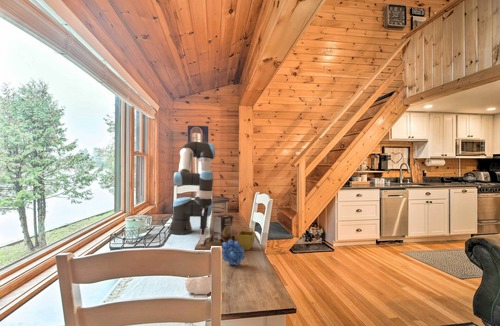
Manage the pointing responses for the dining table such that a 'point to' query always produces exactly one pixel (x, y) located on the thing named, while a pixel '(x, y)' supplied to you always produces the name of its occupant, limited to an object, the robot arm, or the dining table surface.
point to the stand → (211, 243)
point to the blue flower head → (232, 252)
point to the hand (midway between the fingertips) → (202, 239)
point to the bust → (198, 285)
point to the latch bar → (202, 241)
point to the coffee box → (222, 228)
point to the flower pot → (246, 239)
